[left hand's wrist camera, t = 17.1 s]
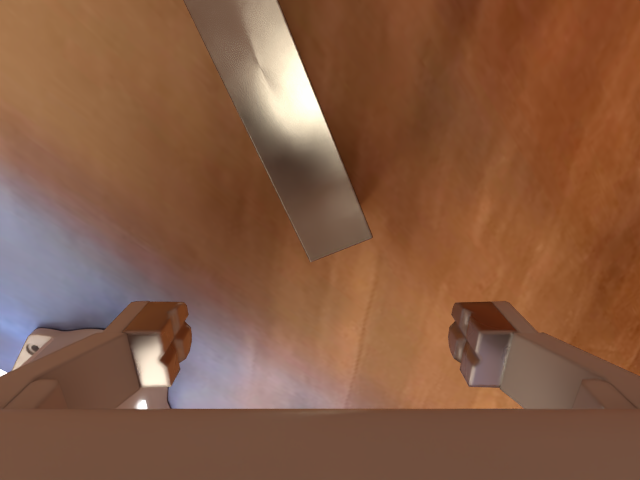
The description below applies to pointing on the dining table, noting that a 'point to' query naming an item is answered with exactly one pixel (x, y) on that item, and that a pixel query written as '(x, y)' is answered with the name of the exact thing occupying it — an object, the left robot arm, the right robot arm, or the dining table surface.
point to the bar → (283, 119)
